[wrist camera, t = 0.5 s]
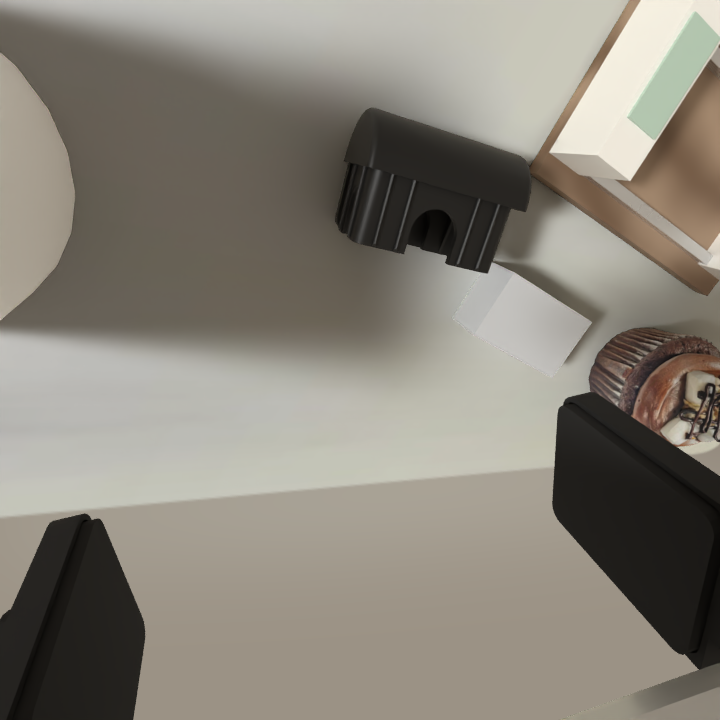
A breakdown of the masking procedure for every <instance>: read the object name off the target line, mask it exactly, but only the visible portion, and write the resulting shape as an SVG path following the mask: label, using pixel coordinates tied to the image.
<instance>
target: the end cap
mask: <svg viewBox="0 0 720 720" xmlns="http://www.w3.org/2000/svg"><path fill="white" fill-rule="evenodd" d="M344 161H345V162H349V163H348V167H347V171H346V175H345V179H344V183H343V187H342V192H341V196H340V200H339V204H338V208H337V212H336V216H335V221H336V223H337V225H338V227H339V230H340V231H341V232H342V233H345V234H347V237H348V238H349V239H351V240H352V241H354V242H356V243H359V244H363V245H367V246H371V247H376V248H380V249H384V250H388V251H392V252H397V253H401V254H404V252H405V248H406V245H407V244H408V245H412V246H416V247H420V249H422V250H425V251H429V252H434V253H438V254H442V255H446V256H447V259H446V262H445V263H446V264H448V265H452V266H456V267H460V268H464V269H469V270H473V271H477V272H481V273H486V274H488V272H489V269H490V267H491V264H492V261H493V258H494V255H495V252H496V250H497V247H498V244H499V241H500V238H501V235H502V233H503V230H504V227H505V224H506V221H507V218H508V216H509V213H510V210H511V208H512V209H515V210H519V211H523V212H526V209H527V206H528V203H529V198H530V193H531V173H530V169H529V166H528V164H527V162H526V161H525V160H524V159H523V158H522V157H521V156H519V155H516V154H513V153H510V152H507V151H504V150H500V149H497V148H494V147H491V146H488V145H485V144H482V143H479V142H476V141H473V140H470V139H467V138H464V137H461V136H458V135H455V134H452V133H449V132H446V131H443V130H440V129H437V128H434V127H431V126H428V125H425V124H421V123H418V122H415V121H412V120H409V119H406V118H403V117H400V116H397V115H394V114H391V113H388V112H385V111H382V110H379V109H376V108H369V109H367V110H366V111H365V112H364V113H363V114H362V116H361V117H360V119H359V120H358V122H357V124H356V126H355V129H354V131H353V134H352V136H351V139H350V142H349V145H348V148H347V152H346V155H345V159H344Z"/></svg>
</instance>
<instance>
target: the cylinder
mask: <svg viewBox="0 0 720 720" xmlns="http://www.w3.org/2000/svg"><path fill="white" fill-rule="evenodd" d="M74 203H75V189H74V184H73V178H72V173H71V167H70V162H69V156H68V152H67V150H66V147H65V145H64V143H63V141H62V138H61V136H60V134H59V132H58V130H57V127H56V125H55V123H54V121H53V119H52V116H51V114H50V112H49V110H48V108H47V107H46V105H45V104H44V103H43V101H42V100H41V99H40V97H39V96H38V95H37V93H36V92H35V91H34V89H33V88H32V87H31V85H30V84H29V83H28V81H27V80H26V79H25V77H24V76H23V75H22V73H21V72H20V71H19V69H18V68H17V67H16V66H15V65H14V64H13V63H12V62H11V61H10V60H9V59H7V58H6V57H5V56H4V55H3V54H2V53H1V52H0V320H1V319H3V318H4V317H5V316H6V315H7V314H8V313H10V312H11V311H12V310H13V309H14V308H15V307H17V306H18V305H19V304H20V303H21V302H23V301H24V300H25V299H26V298H27V297H28V296H30V295H31V294H32V293H33V292H34V291H35V290H36V289H37V288H38V287H39V285H40V284H41V283H42V282H43V281H44V280H45V279H46V278H47V276H48V275H49V274H50V273H51V272H52V271H53V270H54V269H55V267H56V266H57V265H58V263H59V260H60V258H61V256H62V253H63V251H64V249H65V246H66V244H67V242H68V239H69V237H70V235H71V233H72V223H73V213H74Z"/></svg>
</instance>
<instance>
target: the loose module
mask: <svg viewBox="0 0 720 720" xmlns="http://www.w3.org/2000/svg"><path fill="white" fill-rule="evenodd" d="M452 319H454V320H455V321H456V322H457V323H459V324H460V325H461V326H462V327H464V328H465V329H466V330H468V331H469V332H470V333H471V334H473V335H474V336H476V337H478V338H479V339H481V340H483V341H485V342H487V343H489V344H490V345H492V346H494V347H496V348H498V349H499V350H501V351H503V352H505V353H507V354H509V355H510V356H512V357H514V358H516V359H518V360H520V361H521V362H523V363H525V364H527V365H529V366H531V367H532V368H534V369H536V370H538V371H540V372H541V373H543V374H545V375H547V376H549V377H551V378H553V377H554V375H555V374H556V373H557V371H558V370H559V368H560V367H561V365H562V364H563V363H564V361H565V360H566V358H567V357H568V356H569V354H570V353H571V351H572V350H573V349H574V347H575V346H576V344H577V343H578V342H579V340H580V339H581V337H582V336H583V334H584V333H585V332H586V330H587V329H588V327H589V326H590V325H591V323H592V322H591V321H590V320H588V319H587V318H585V317H583V316H582V315H580V314H579V313H577V312H576V311H574V310H572V309H571V308H569V307H568V306H566V305H565V304H563V303H562V302H560V301H558V300H557V299H555V298H554V297H552V296H551V295H549V294H547V293H546V292H544V291H543V290H541V289H540V288H538V287H537V286H535V285H533V284H532V283H530V282H529V281H527V280H526V279H524V278H522V277H521V276H519V275H518V274H516V273H515V272H513V271H510V270H508V269H506V268H504V267H502V266H500V265H498V264H496V263H493V262H492V264H491V267H490V269H489V272H488V274H486V273H480V274H479V276H478V278H477V279H476V281H475V282H474V284H473V285H472V287H471V289H470V290H469V292H468V293H467V295H466V297H465V298H464V300H463V301H462V303H461V304H460V306H459V308H458V309H457V311H456V312H455V314H454V315H453V317H452Z"/></svg>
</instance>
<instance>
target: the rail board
mask: <svg viewBox="0 0 720 720" xmlns="http://www.w3.org/2000/svg"><path fill="white" fill-rule="evenodd" d="M640 1H641V0H630V1H629V2H628V4H627V6H626V7H625V9H624V11H623V12H622V14H621V16H620V17H619V19H618V21H617V23H616V24H615V26H614V28H613V29H612V31H611V33H610V34H609V36H608V38H607V39H606V41H605V43H604V44H603V46H602V48H601V49H600V51H599V53H598V54H597V56H596V58H595V59H594V61H593V63H592V64H591V66H590V68H589V69H588V71H587V73H586V74H585V76H584V78H583V79H582V81H581V83H580V84H579V86H578V88H577V89H576V91H575V93H574V94H573V96H572V98H571V99H570V101H569V103H568V104H567V106H566V108H565V109H564V111H563V113H562V114H561V116H560V118H559V119H558V121H557V123H556V124H555V126H554V128H553V129H552V131H551V133H550V134H549V136H548V138H547V139H546V141H545V143H544V145H543V146H542V148H541V150H540V151H539V153H538V155H537V156H536V158H535V160H534V161H533V163H532V165H531V166H530V168H529V169H530V173H531V175H532V176H533V177H535V178H536V179H537V180H539V181H540V182H542V183H543V184H545V185H546V186H547V187H549V188H550V189H552V190H553V191H554V192H556V193H557V194H559V195H560V196H561V197H563V198H564V199H566V200H567V201H568V202H570V203H571V204H573V205H574V206H575V207H577V208H578V209H580V210H581V211H582V212H584V213H585V214H587V215H588V216H590V217H591V218H592V219H594V220H595V221H597V222H598V223H599V224H601V225H602V226H604V227H605V228H606V229H608V230H609V231H611V232H612V233H613V234H615V235H616V236H618V237H619V238H620V239H622V240H623V241H625V242H626V243H627V244H629V245H630V246H632V247H633V248H634V249H636V250H637V251H639V252H640V253H642V254H643V255H644V256H646V257H647V258H649V259H650V260H651V261H653V262H654V263H656V264H657V265H658V266H660V267H661V268H663V269H664V270H665V271H667V272H668V273H670V274H671V275H672V276H674V277H675V278H677V279H678V280H679V281H681V282H682V283H684V284H685V285H686V286H688V287H689V288H691V289H692V290H694V291H695V292H697V293H700V294H703V295H706V296H708V294H709V293H710V292H711V290H712V289H713V287H714V286H715V285H716V283H717V282H718V281H719V280H718V279H717V278H716V277H714V276H713V275H712V274H710V273H709V272H708V271H706V270H705V269H704V268H702V267H701V266H700V265H698V262H697V261H695V260H694V259H693V258H691V257H690V256H689V255H687V254H686V253H685V252H683V251H682V250H681V249H679V248H678V247H677V246H675V245H674V244H673V243H671V242H670V241H669V240H667V239H666V238H665V237H663V236H662V235H661V234H660V233H658V232H657V231H656V230H654V229H653V228H652V227H650V226H649V225H648V224H646V223H645V222H644V221H642V220H641V219H640V218H638V217H637V216H636V215H634V214H633V213H632V212H630V211H629V210H628V209H626V208H625V207H624V206H622V205H621V204H620V203H618V202H617V201H616V200H614V199H613V198H612V197H610V196H609V195H608V194H606V193H605V192H604V191H602V190H601V189H600V188H598V187H597V186H596V185H594V184H593V183H592V182H590V181H589V180H588V179H586V178H585V177H584V176H582V175H578V174H577V173H576V172H574V171H573V170H572V169H570V168H569V167H568V166H566V165H565V164H564V163H562V162H561V161H560V160H558V159H557V158H556V157H554V156H553V155H552V154H550V153H549V152H550V150H551V148H552V147H553V145H554V143H555V142H556V140H557V138H558V137H559V135H560V133H561V132H562V130H563V128H564V127H565V125H566V123H567V122H568V120H569V118H570V117H571V115H572V113H573V112H574V110H575V108H576V107H577V105H578V103H579V102H580V100H581V98H582V97H583V95H584V94H585V92H586V90H587V89H588V87H589V85H590V84H591V82H592V80H593V79H594V77H595V75H596V74H597V72H598V70H599V69H600V67H601V65H602V64H603V62H604V60H605V59H606V57H607V55H608V54H609V52H610V50H611V49H612V47H613V45H614V44H615V42H616V40H617V39H618V37H619V36H620V34H621V32H622V31H623V29H624V27H625V26H626V24H627V22H628V21H629V19H630V17H631V16H632V14H633V12H634V11H635V9H636V7H637V6H638V4H639V2H640ZM718 47H719V48H720V44H719V46H718ZM615 180H616V181H617V182H619V183H620V184H621V185H623V186H624V187H625V188H626V189H628V190H629V191H630V192H632V193H633V194H634V195H635V196H637V197H638V198H639V199H641V200H642V201H643V202H644V203H646V204H647V205H648V206H650V207H651V208H652V209H654V210H655V211H656V212H657V213H659V214H660V215H661V216H663V217H664V218H665V219H666V220H668V221H669V222H670V223H672V224H673V225H674V226H675V227H677V228H678V229H679V230H681V231H682V232H683V233H684V234H686V235H687V236H688V237H690V238H691V239H692V240H693V241H695V242H696V243H697V244H699V245H700V246H701V247H702V248H704V249H705V250H706V251H707V250H708V249H709V247H710V246H711V245H712V243H713V242H714V240H715V239H716V238H717V236H718V235H719V233H720V80H719V79H718V78H717V77H716V76H715V75H714V74H713V73H712V72H711V71H710V70H709V69H708V68H707V67H706V66H705V67H704V69H703V71H702V72H701V74H700V75H699V77H698V78H697V80H696V81H695V83H694V84H693V86H692V87H691V89H690V90H689V92H688V93H687V95H686V97H685V98H684V100H683V101H682V103H681V104H680V106H679V107H678V109H677V110H676V112H675V113H674V115H673V116H672V118H671V119H670V121H669V123H668V124H667V126H666V127H665V129H664V130H663V132H662V133H661V135H660V136H659V138H658V139H657V141H656V142H655V144H654V145H653V147H652V149H651V150H650V152H649V153H648V155H647V156H646V158H645V159H644V161H643V162H642V164H641V165H640V167H639V168H638V170H637V171H636V173H635V175H634V176H633V178H632V179H631V181H625V180H617V179H615Z"/></svg>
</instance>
